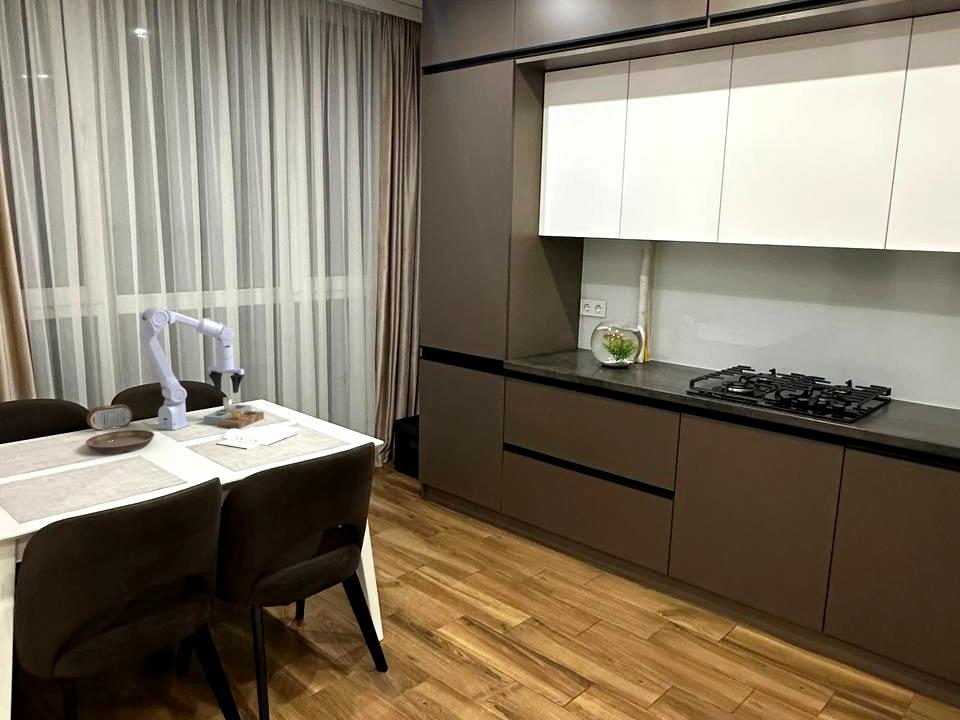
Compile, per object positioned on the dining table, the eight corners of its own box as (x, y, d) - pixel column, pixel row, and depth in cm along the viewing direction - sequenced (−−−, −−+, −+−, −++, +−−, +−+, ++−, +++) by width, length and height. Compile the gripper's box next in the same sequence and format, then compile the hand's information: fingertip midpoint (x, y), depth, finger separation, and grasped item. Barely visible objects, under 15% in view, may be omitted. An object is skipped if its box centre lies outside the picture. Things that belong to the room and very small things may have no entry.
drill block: (239, 428, 266) (238, 422, 265) (220, 427, 268) (219, 420, 267) (263, 418, 281) (263, 412, 280) (245, 416, 283) (245, 410, 283)
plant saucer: (72, 450, 239) (71, 440, 238) (128, 435, 257) (127, 426, 256) (113, 460, 229) (112, 449, 229) (168, 443, 247) (167, 434, 247)
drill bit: (229, 419, 279) (228, 399, 277) (222, 418, 280) (221, 398, 278) (234, 417, 282) (233, 397, 280) (227, 416, 283) (226, 396, 281)
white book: (308, 431, 265) (307, 422, 264) (255, 455, 240) (254, 444, 239) (263, 425, 273) (262, 415, 272) (208, 447, 248) (207, 437, 247)
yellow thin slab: (242, 424, 269) (241, 411, 268) (228, 423, 271) (227, 410, 270) (244, 423, 270) (243, 410, 269) (230, 422, 272) (229, 409, 271)
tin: (132, 424, 271) (130, 402, 269) (134, 426, 268) (132, 403, 267) (87, 430, 261) (85, 408, 260) (89, 432, 259) (87, 409, 257)
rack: (220, 425, 270) (219, 417, 270) (204, 423, 272) (203, 415, 272) (251, 412, 289) (251, 405, 289) (236, 411, 291) (235, 404, 291)
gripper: (248, 356, 278) (249, 391, 281) (215, 354, 282) (217, 388, 285) (237, 359, 272) (238, 394, 274) (203, 357, 276) (205, 392, 278)
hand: (227, 391), depth 279 cm, fingers open, 7 cm apart
